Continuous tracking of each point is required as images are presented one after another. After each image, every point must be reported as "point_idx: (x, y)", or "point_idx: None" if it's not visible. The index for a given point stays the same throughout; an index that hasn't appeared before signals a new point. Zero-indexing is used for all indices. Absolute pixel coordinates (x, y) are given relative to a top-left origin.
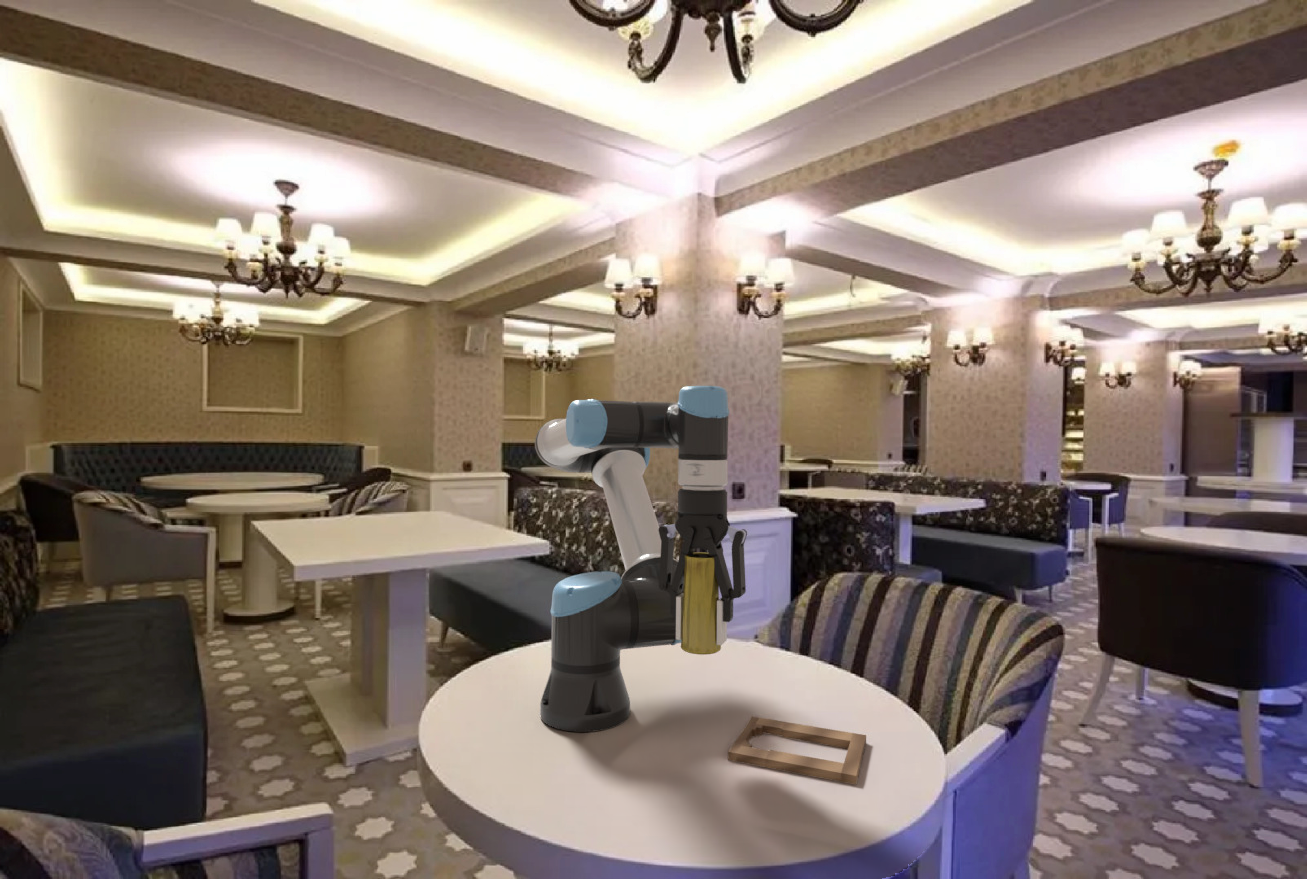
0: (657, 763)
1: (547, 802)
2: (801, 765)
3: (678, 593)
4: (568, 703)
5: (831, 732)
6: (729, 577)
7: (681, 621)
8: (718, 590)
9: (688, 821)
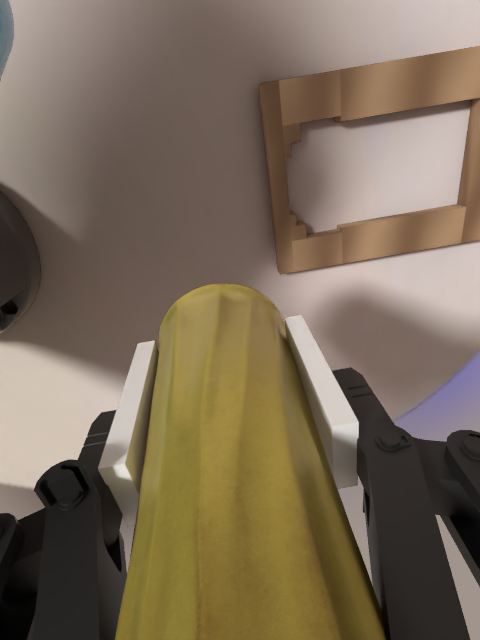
0: None
1: None
2: (400, 253)
3: (119, 520)
4: None
5: (444, 71)
6: (440, 540)
7: None
8: (339, 497)
9: None
